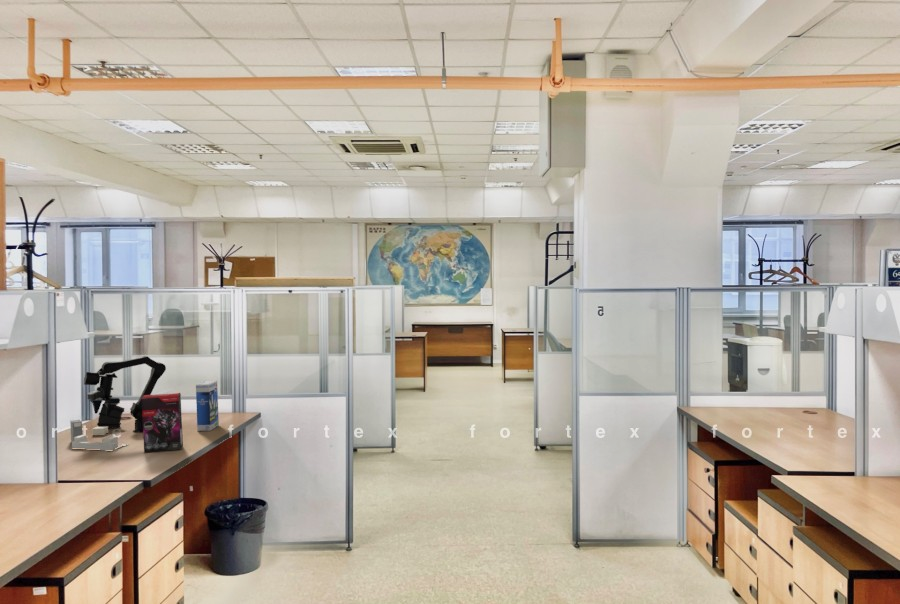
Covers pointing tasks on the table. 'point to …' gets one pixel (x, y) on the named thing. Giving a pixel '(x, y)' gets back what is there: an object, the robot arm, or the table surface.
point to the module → (76, 429)
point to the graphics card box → (162, 422)
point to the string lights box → (207, 405)
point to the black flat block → (110, 417)
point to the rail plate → (106, 444)
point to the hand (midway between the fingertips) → (101, 414)
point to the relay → (100, 430)
